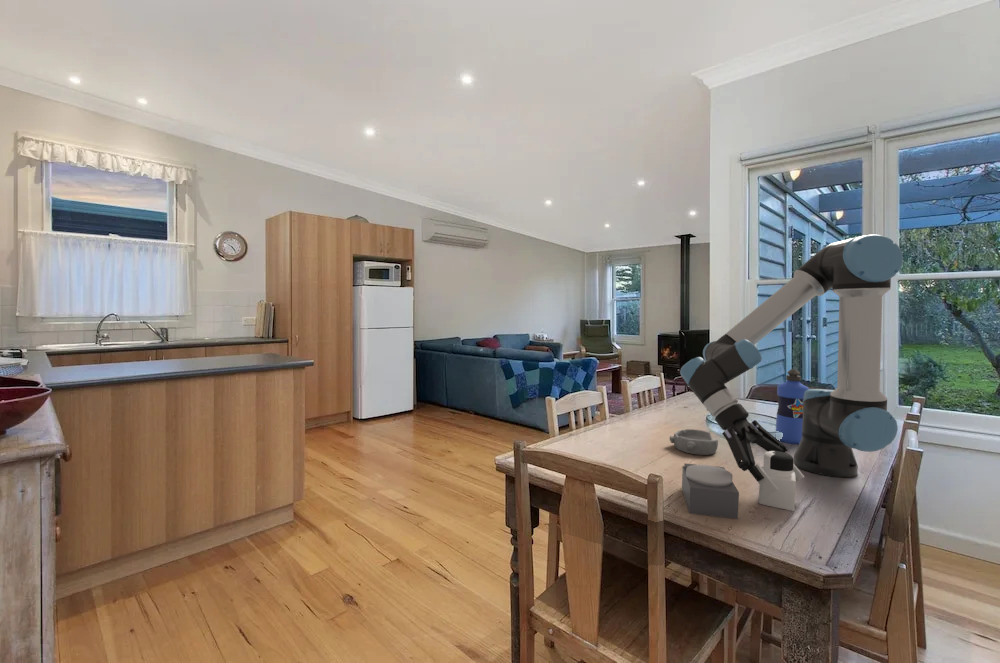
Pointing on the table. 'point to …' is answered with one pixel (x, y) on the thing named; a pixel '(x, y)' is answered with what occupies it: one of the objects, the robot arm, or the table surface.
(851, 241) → the robot arm
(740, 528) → the table surface
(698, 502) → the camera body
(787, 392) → the water bottle
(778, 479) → the medicine bottle
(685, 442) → the dish
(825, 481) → the table surface
